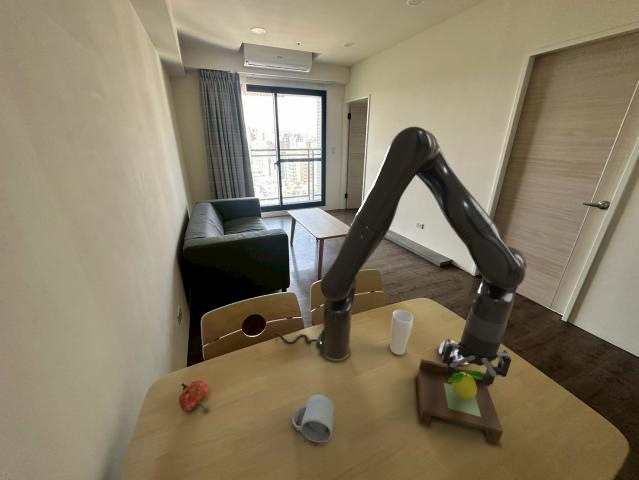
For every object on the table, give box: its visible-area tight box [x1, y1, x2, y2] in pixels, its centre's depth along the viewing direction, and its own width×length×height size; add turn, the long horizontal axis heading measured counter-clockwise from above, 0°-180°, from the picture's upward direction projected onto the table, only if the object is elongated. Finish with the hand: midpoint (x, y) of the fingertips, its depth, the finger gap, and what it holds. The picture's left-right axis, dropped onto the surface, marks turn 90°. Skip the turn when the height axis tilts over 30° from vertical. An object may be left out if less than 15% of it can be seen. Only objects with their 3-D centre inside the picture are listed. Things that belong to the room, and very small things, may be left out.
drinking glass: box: [389, 309, 414, 356], centre depth 87 cm, size 7×7×15 cm
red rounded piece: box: [178, 380, 210, 412], centre depth 69 cm, size 7×7×10 cm
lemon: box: [448, 368, 484, 400], centre depth 65 cm, size 7×6×10 cm
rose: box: [438, 339, 470, 366], centre depth 87 cm, size 10×4×10 cm
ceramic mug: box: [291, 393, 335, 444], centre depth 64 cm, size 11×8×8 cm
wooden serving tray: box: [416, 358, 504, 445], centre depth 69 cm, size 18×14×8 cm
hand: (467, 378), depth 65 cm, fingers closed on lemon, 8 cm apart
